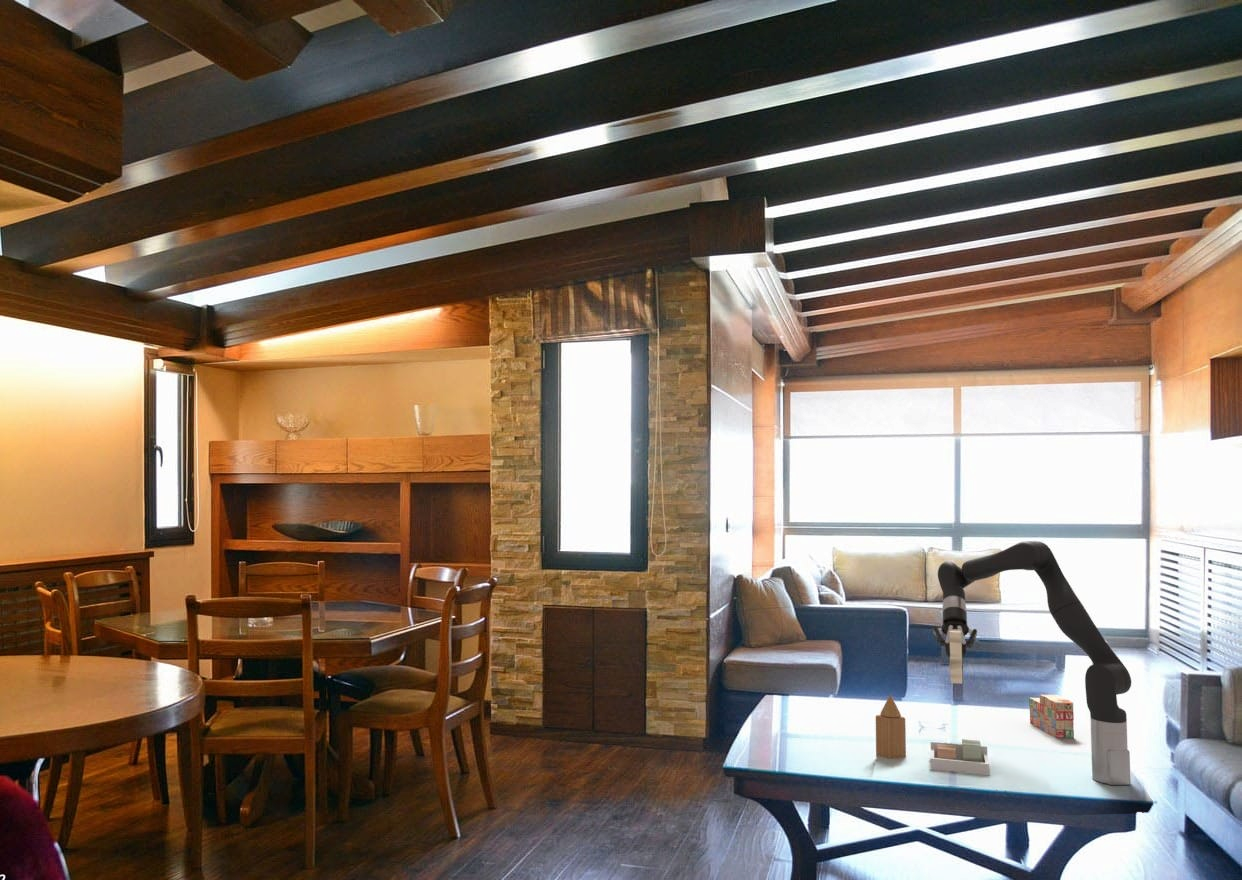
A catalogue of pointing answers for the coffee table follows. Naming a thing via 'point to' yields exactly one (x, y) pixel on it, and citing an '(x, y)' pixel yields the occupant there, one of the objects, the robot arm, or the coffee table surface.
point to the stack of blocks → (1052, 715)
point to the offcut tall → (971, 750)
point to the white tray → (959, 760)
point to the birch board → (955, 656)
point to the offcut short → (946, 752)
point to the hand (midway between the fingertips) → (955, 655)
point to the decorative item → (890, 731)
